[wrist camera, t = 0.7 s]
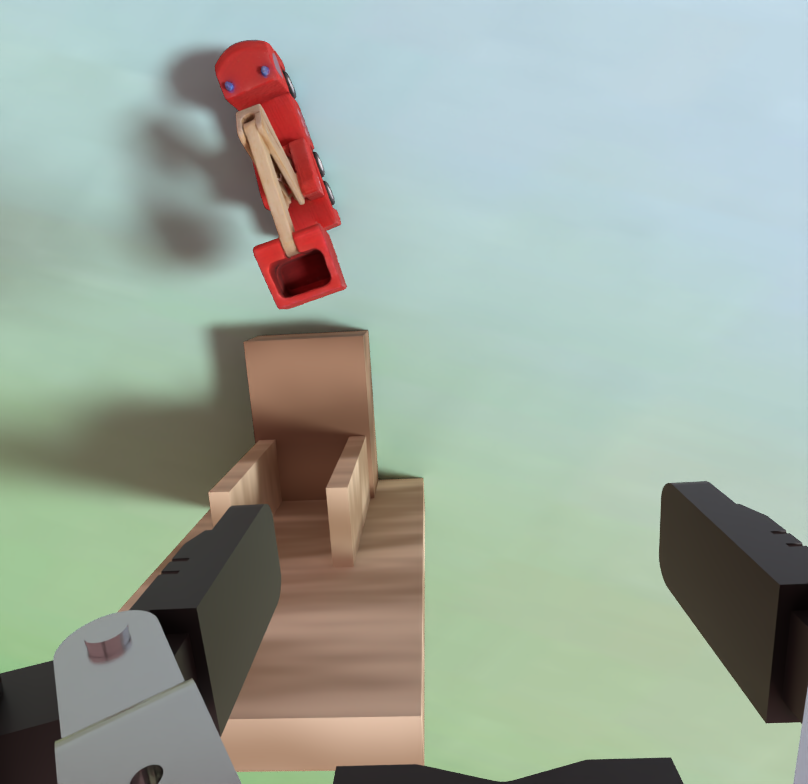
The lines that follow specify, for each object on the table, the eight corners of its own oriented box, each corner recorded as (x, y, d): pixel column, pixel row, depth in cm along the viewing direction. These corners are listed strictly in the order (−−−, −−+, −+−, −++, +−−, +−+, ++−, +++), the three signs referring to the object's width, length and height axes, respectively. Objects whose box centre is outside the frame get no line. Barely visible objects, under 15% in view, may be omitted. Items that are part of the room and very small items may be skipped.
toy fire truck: (282, 52, 31) (221, -41, 22) (365, 283, 34) (342, 289, 25) (229, 74, 32) (147, -8, 22) (315, 301, 34) (274, 314, 25)
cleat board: (212, 338, 35) (-55, 423, 16) (415, 328, 34) (403, 403, 15) (234, 512, 38) (30, 773, 18) (424, 506, 37) (424, 769, 18)
